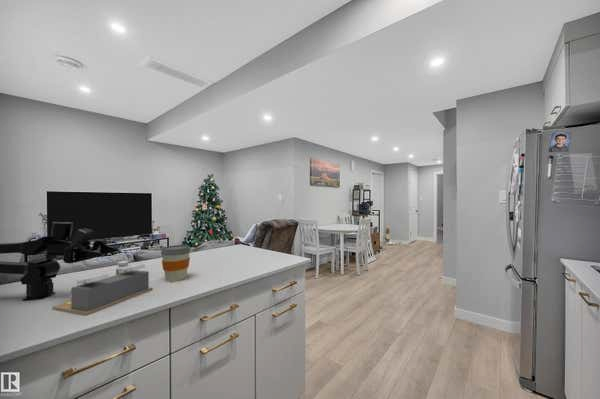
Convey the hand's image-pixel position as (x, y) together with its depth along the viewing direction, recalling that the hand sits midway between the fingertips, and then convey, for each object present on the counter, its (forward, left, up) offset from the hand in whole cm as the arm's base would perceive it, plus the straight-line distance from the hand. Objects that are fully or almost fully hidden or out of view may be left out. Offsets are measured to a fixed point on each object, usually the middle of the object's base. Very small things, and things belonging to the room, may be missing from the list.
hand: (109, 252), depth 97 cm
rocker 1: (+2, -14, -8) cm, 16 cm away
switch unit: (+2, -6, -16) cm, 18 cm away
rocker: (+9, -2, -8) cm, 12 cm away
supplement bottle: (-1, +13, -17) cm, 21 cm away
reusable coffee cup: (+21, +14, -17) cm, 30 cm away
